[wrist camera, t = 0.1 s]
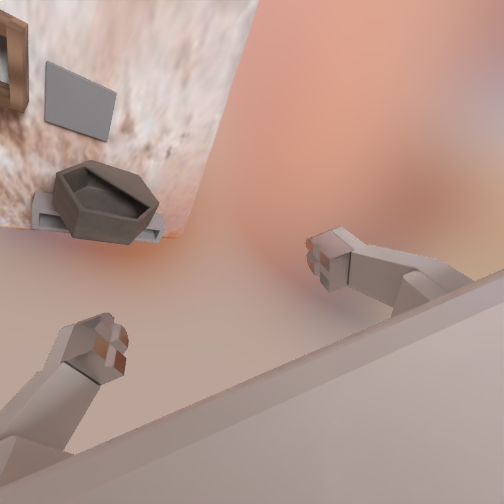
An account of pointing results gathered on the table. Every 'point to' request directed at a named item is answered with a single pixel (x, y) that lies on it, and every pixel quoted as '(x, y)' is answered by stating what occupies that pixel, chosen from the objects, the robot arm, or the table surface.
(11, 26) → the block
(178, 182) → the table surface
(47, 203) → the tray
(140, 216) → the planter
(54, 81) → the mat
